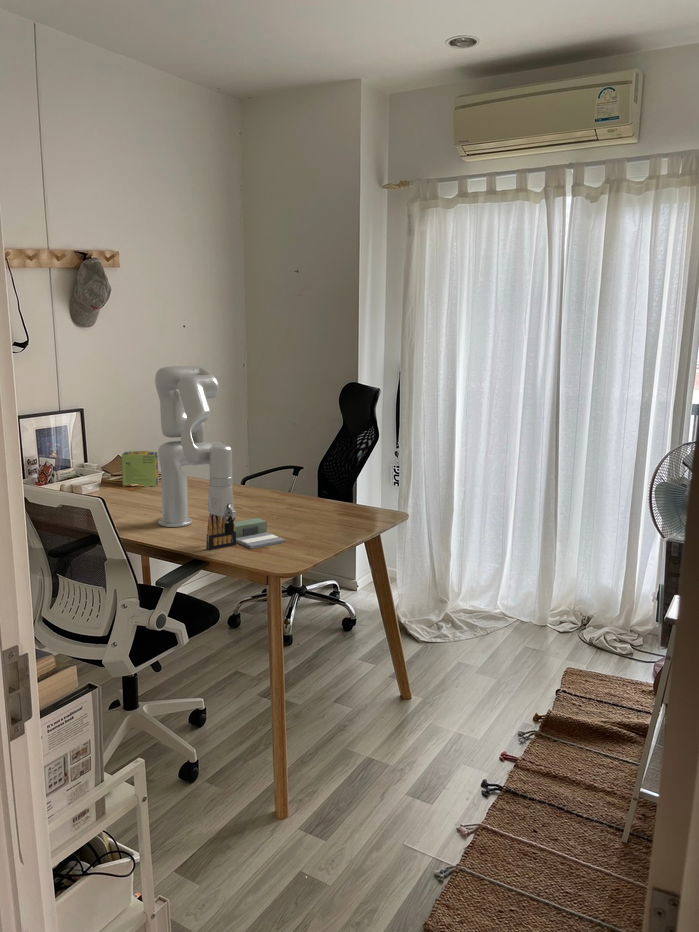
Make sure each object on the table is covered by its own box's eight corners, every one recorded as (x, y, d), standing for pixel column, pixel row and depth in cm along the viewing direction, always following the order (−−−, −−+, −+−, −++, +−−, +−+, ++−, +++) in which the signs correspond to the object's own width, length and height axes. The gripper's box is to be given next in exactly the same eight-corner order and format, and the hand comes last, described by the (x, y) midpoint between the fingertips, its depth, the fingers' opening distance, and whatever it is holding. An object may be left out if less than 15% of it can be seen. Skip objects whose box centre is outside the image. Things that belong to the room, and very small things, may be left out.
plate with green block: (224, 536, 265) (224, 523, 264) (257, 530, 274) (257, 517, 273) (251, 549, 252) (251, 534, 251) (285, 542, 260) (285, 528, 259)
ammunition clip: (233, 543, 257) (233, 510, 255) (236, 545, 256) (236, 511, 254) (206, 548, 251) (205, 514, 248) (208, 550, 249) (208, 515, 247)
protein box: (156, 487, 344) (155, 454, 341) (122, 487, 342) (121, 454, 339) (159, 482, 354) (158, 450, 351) (126, 482, 352) (124, 450, 349)
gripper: (198, 479, 253) (199, 527, 256) (224, 487, 240) (225, 538, 243) (218, 476, 258) (219, 524, 261) (244, 484, 245) (244, 534, 248)
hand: (221, 531), depth 252 cm, fingers open, 9 cm apart
